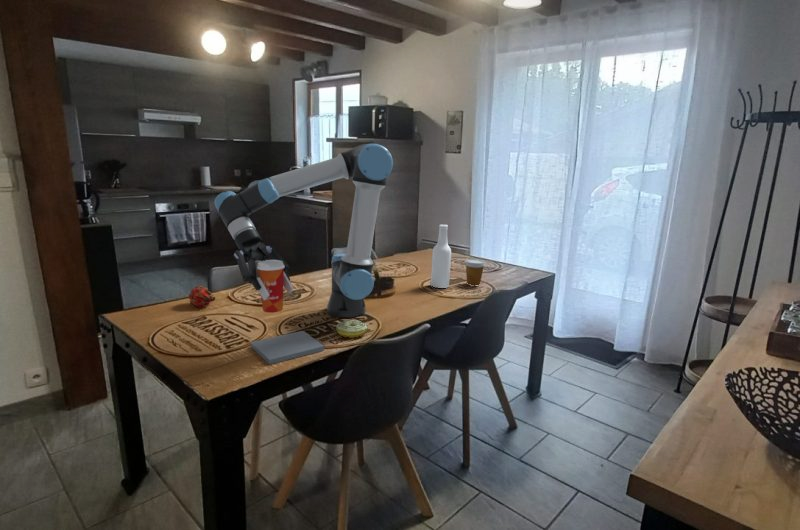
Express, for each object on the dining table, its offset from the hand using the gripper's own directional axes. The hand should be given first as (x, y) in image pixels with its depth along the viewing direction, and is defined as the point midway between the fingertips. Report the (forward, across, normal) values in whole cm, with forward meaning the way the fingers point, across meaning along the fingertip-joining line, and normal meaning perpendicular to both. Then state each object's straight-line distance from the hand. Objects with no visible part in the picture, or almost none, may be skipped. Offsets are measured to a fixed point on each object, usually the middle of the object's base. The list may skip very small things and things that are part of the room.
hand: (279, 294), depth 137 cm
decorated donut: (+18, -26, -10) cm, 33 cm away
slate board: (+13, -3, -14) cm, 19 cm away
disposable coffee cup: (+18, -111, -11) cm, 113 cm away
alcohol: (+11, -96, -18) cm, 98 cm away
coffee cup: (+2, 0, -6) cm, 7 cm away
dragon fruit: (-27, -5, -53) cm, 60 cm away
